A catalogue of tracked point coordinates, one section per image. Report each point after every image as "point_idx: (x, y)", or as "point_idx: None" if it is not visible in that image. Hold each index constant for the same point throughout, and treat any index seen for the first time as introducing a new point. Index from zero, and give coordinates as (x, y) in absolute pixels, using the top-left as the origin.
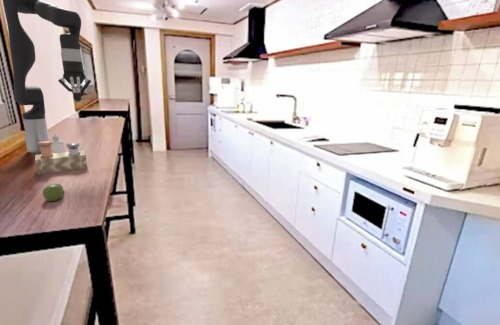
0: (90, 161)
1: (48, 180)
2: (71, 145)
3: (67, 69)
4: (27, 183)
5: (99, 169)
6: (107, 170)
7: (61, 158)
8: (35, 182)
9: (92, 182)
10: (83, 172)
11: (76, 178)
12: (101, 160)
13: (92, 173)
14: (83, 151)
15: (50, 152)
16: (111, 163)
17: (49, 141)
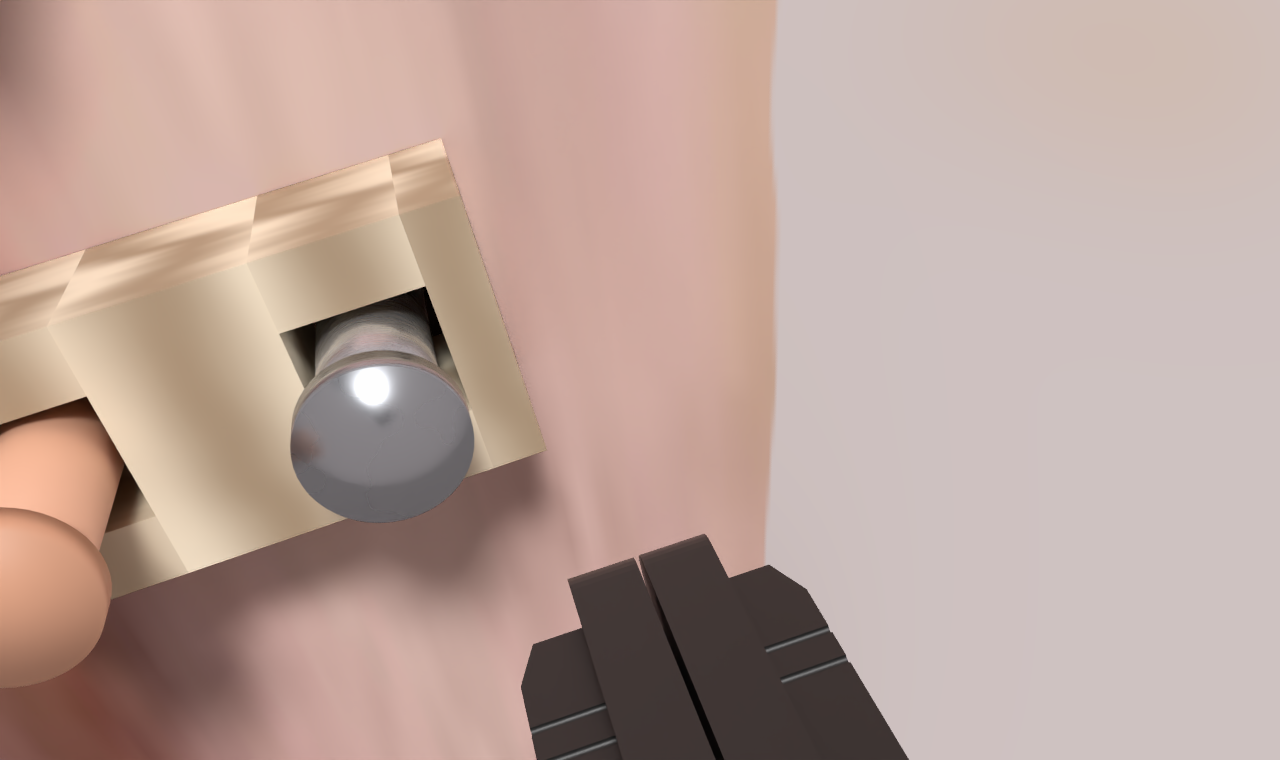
0: (491, 70)
1: (254, 695)
2: (391, 521)
3: None
4: (96, 755)
5: (654, 429)
6: (735, 468)
7: (276, 535)
8: (157, 736)
9: None
10: (512, 508)
11: (491, 659)
12: (631, 43)
13: (605, 543)
14: (472, 259)
15: (105, 528)
16: (763, 216)
17: (39, 549)
